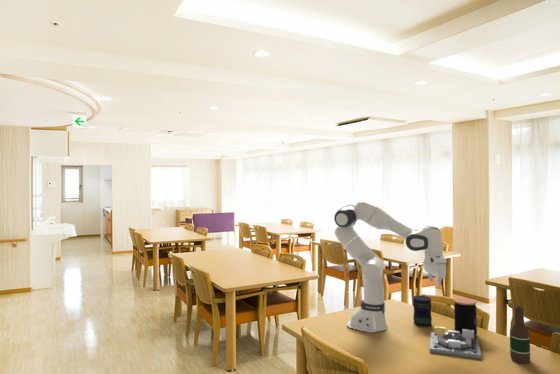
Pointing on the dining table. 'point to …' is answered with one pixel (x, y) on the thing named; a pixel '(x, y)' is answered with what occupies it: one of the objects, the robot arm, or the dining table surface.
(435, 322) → the dining table surface
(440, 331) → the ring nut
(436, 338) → the flange plate
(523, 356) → the beer bottle
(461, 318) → the coffee jar
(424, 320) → the storage jar
